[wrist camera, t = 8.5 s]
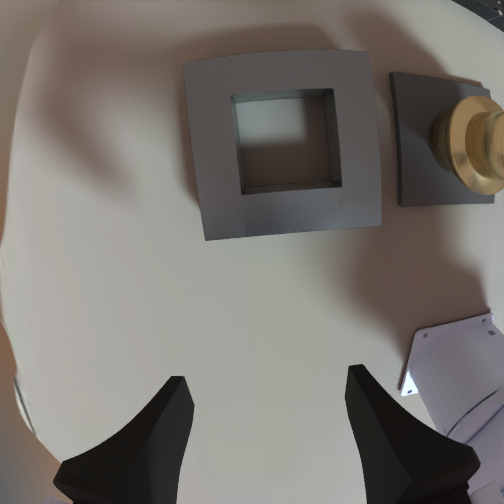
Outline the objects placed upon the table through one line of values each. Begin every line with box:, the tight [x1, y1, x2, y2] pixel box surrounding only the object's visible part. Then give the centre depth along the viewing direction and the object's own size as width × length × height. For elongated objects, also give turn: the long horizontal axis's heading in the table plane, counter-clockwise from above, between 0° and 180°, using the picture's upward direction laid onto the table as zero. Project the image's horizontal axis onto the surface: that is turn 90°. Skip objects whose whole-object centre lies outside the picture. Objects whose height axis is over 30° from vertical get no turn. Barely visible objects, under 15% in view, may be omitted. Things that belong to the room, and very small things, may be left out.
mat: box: [389, 72, 495, 206], centre depth 16 cm, size 9×9×1 cm
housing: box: [183, 50, 382, 241], centre depth 16 cm, size 10×10×3 cm
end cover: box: [429, 96, 504, 195], centre depth 12 cm, size 6×6×8 cm
